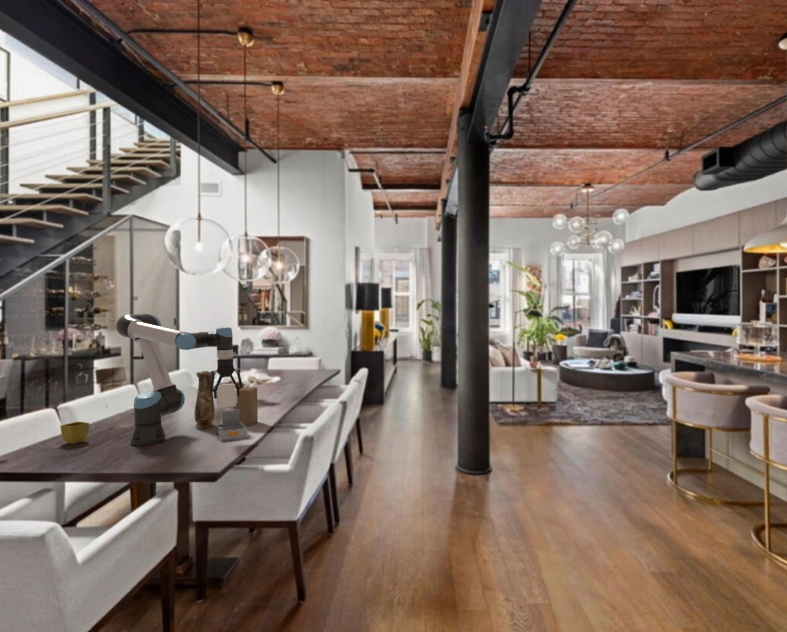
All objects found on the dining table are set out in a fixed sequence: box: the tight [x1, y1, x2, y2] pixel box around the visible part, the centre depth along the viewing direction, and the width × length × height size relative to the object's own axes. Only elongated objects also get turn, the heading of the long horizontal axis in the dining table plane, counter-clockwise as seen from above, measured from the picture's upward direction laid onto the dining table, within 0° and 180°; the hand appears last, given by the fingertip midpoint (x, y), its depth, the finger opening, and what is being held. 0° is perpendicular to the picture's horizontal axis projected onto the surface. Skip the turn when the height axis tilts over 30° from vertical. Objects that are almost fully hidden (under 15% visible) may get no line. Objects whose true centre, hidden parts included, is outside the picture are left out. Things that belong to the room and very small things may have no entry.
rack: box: [217, 409, 249, 442], centre depth 233 cm, size 13×16×12 cm
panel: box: [217, 382, 236, 409], centre depth 228 cm, size 8×4×11 cm, turn 114°
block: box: [233, 386, 259, 427], centre depth 256 cm, size 10×10×20 cm
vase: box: [194, 370, 216, 429], centre depth 251 cm, size 10×11×30 cm
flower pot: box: [59, 421, 90, 445], centre depth 223 cm, size 9×9×9 cm
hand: (227, 403), depth 228 cm, fingers closed on panel, 8 cm apart
